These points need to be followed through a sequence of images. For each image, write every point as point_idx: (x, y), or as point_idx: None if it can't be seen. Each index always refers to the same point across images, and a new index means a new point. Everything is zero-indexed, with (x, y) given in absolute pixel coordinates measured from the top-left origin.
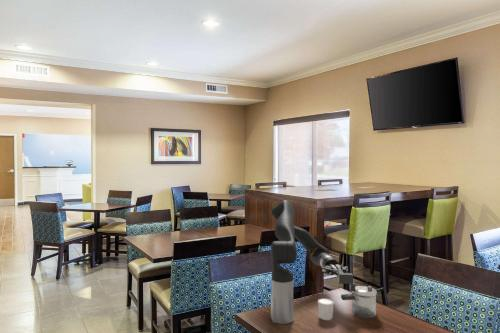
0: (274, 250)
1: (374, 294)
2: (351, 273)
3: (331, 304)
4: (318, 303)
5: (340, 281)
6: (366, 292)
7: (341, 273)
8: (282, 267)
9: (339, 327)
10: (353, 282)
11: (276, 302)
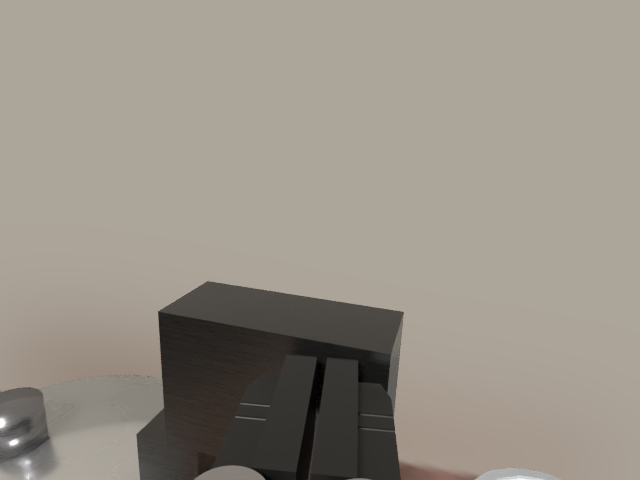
0: None
1: (76, 386)
2: (174, 308)
3: (490, 472)
4: None
5: None
6: (115, 408)
7: (342, 329)
8: None
9: (429, 477)
10: (157, 428)
11: None
